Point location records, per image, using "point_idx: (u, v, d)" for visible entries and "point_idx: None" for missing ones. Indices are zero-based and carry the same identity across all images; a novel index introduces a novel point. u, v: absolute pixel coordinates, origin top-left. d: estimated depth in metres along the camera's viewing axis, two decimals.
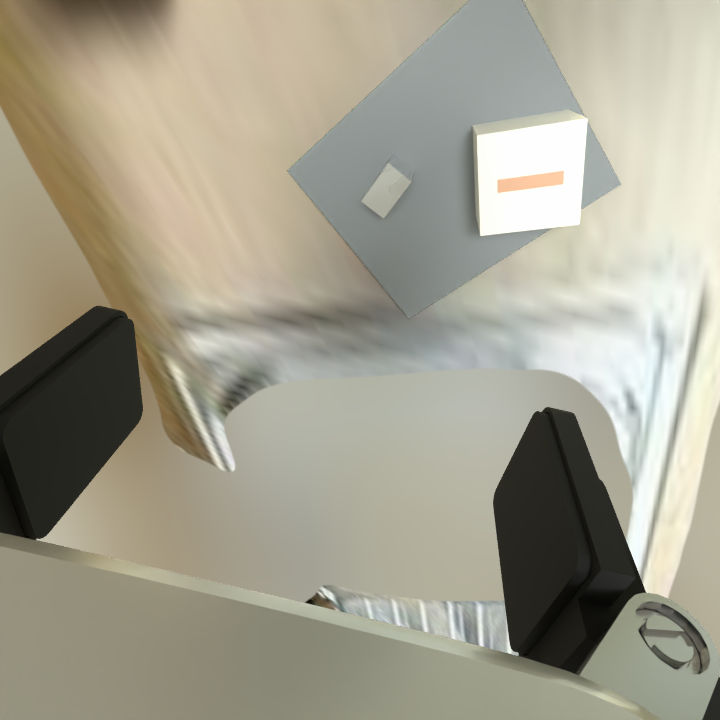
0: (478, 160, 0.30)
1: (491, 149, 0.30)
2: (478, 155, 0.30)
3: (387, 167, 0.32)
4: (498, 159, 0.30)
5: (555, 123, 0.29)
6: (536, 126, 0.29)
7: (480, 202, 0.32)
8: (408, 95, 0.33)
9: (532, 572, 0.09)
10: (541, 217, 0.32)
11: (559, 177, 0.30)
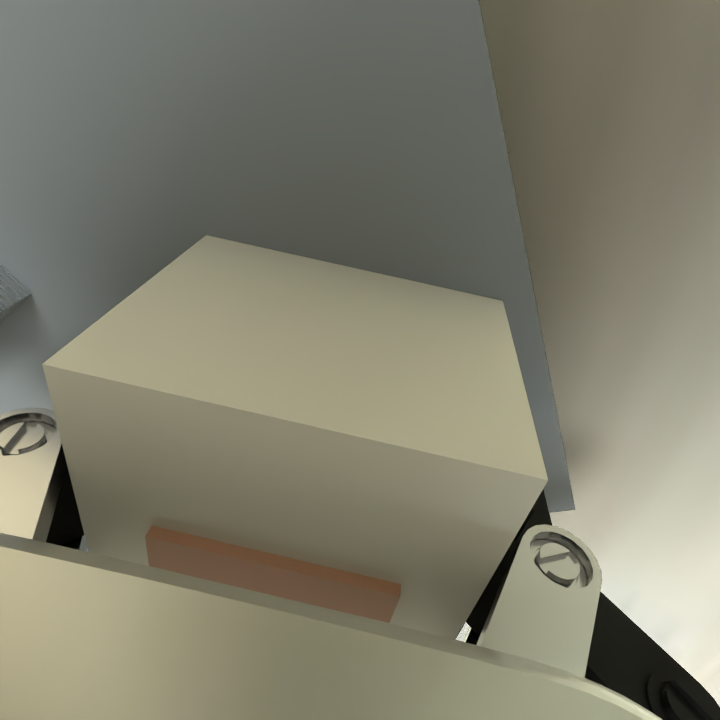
0: (69, 446, 0.07)
1: (117, 434, 0.06)
2: (63, 433, 0.07)
3: None
4: (150, 474, 0.07)
5: (405, 443, 0.06)
6: (319, 424, 0.06)
7: None
8: None
9: None
10: None
11: (379, 604, 0.07)
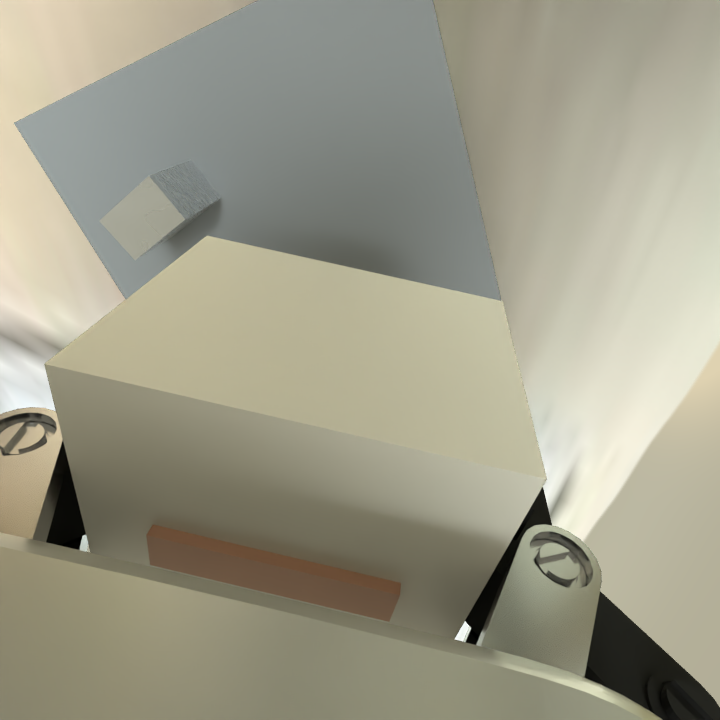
0: (71, 445, 0.07)
1: (118, 433, 0.06)
2: (65, 432, 0.07)
3: (146, 181, 0.18)
4: (151, 473, 0.07)
5: (405, 443, 0.06)
6: (319, 424, 0.06)
7: None
8: (226, 76, 0.20)
9: None
10: None
11: (379, 603, 0.07)
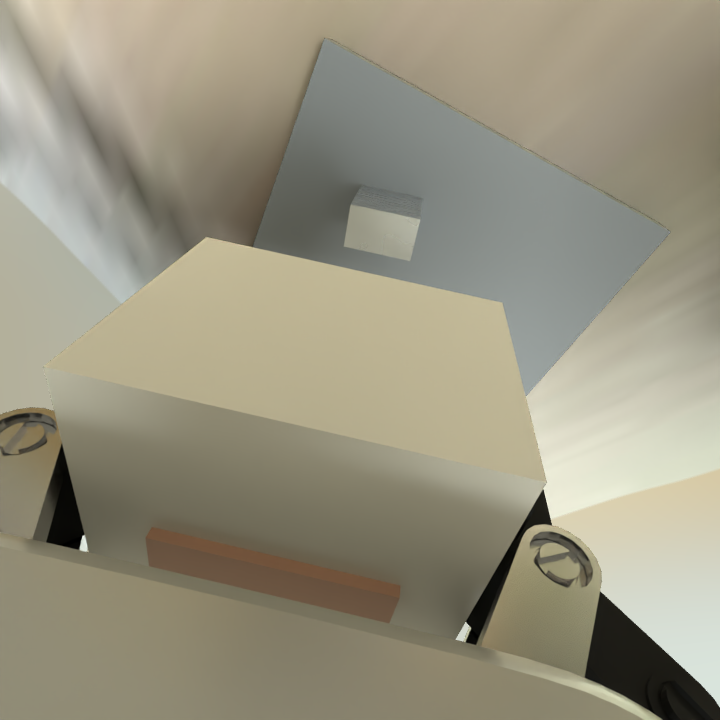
0: (70, 447, 0.07)
1: (117, 436, 0.06)
2: (64, 435, 0.07)
3: (414, 220, 0.21)
4: (150, 475, 0.07)
5: (404, 445, 0.06)
6: (319, 427, 0.06)
7: None
8: (501, 184, 0.24)
9: None
10: None
11: (379, 605, 0.07)
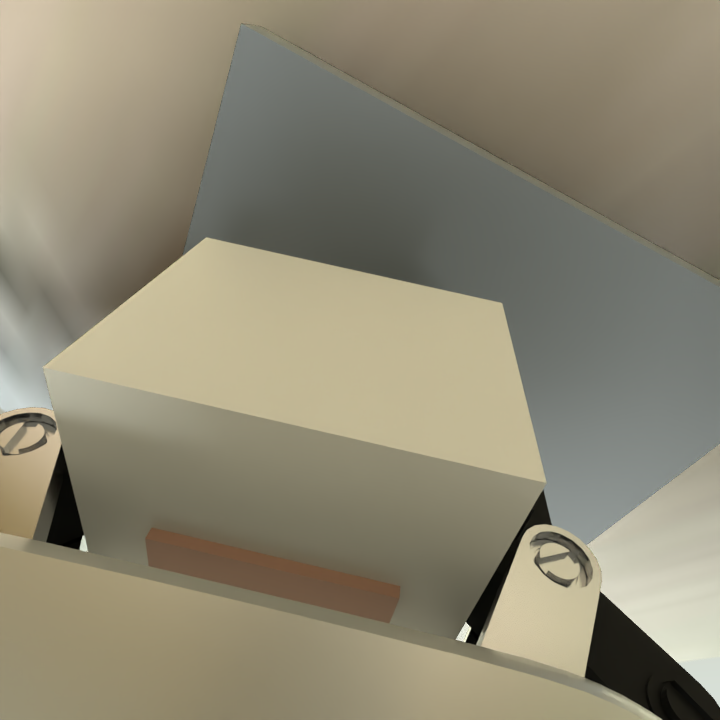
0: (70, 448, 0.07)
1: (117, 436, 0.06)
2: (64, 435, 0.07)
3: None
4: (150, 476, 0.07)
5: (404, 446, 0.06)
6: (318, 427, 0.06)
7: None
8: (552, 272, 0.14)
9: None
10: None
11: (378, 606, 0.07)
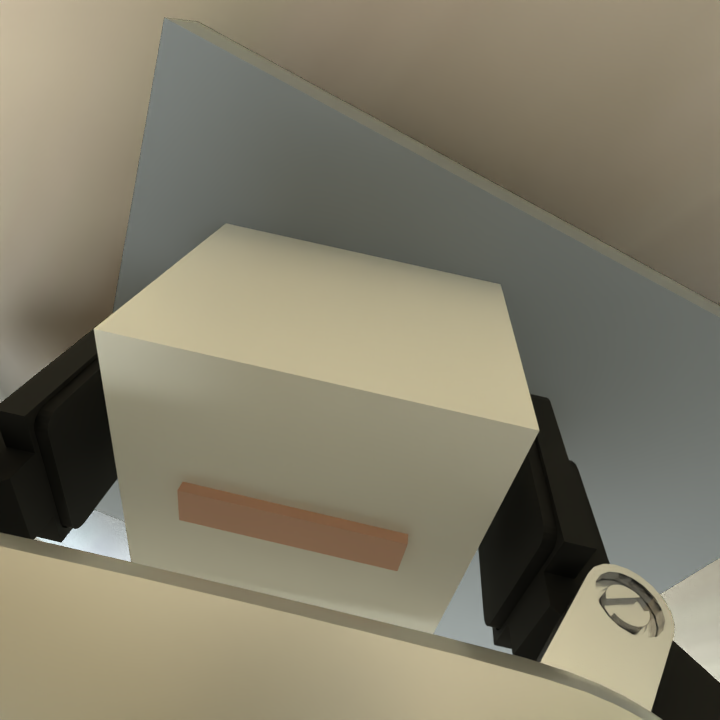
0: (112, 406, 0.08)
1: (156, 393, 0.07)
2: (108, 393, 0.07)
3: None
4: (184, 431, 0.08)
5: (413, 399, 0.07)
6: (338, 382, 0.07)
7: (127, 515, 0.09)
8: (571, 331, 0.11)
9: (505, 549, 0.09)
10: (318, 605, 0.10)
11: (388, 552, 0.08)
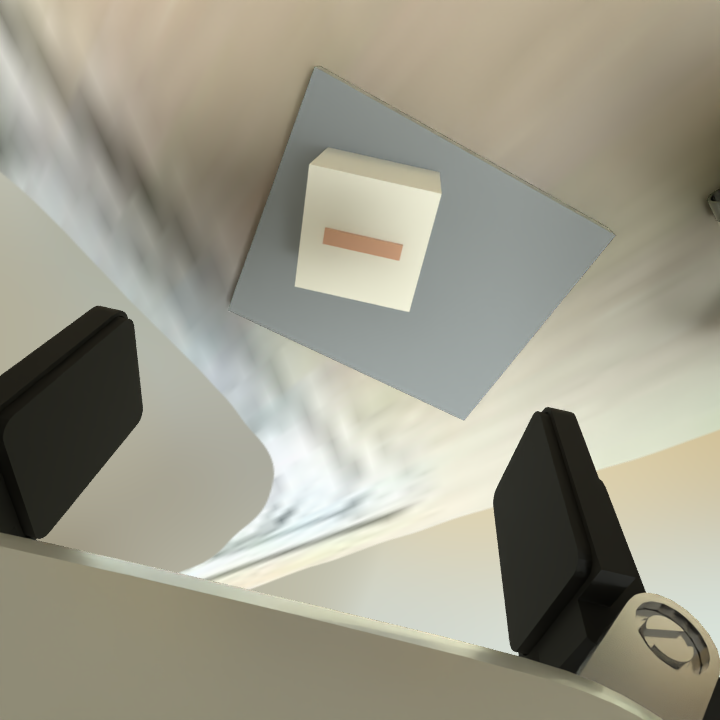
0: (306, 195, 0.23)
1: (324, 188, 0.23)
2: (307, 189, 0.23)
3: None
4: (330, 203, 0.23)
5: (404, 185, 0.23)
6: (382, 180, 0.23)
7: (300, 247, 0.25)
8: (469, 193, 0.27)
9: (532, 572, 0.09)
10: (368, 289, 0.26)
11: (396, 251, 0.24)
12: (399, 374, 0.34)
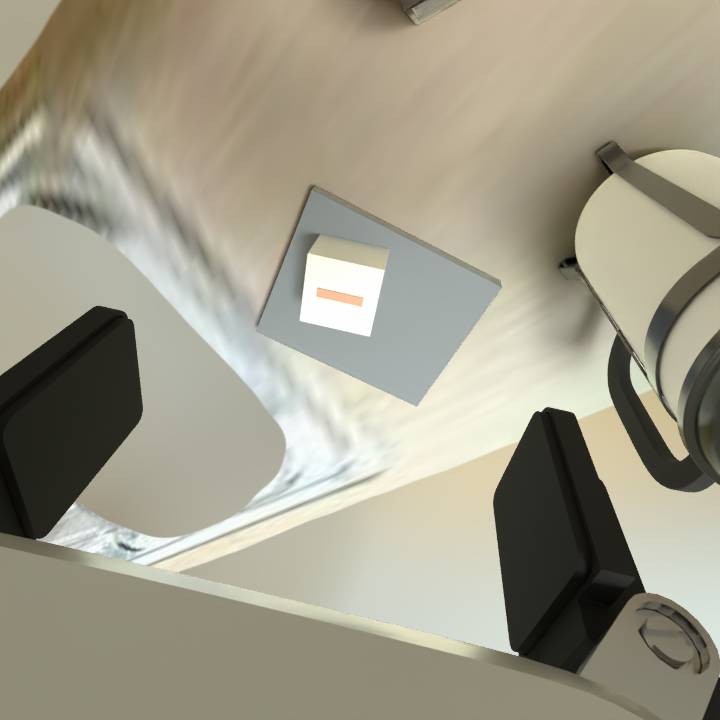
0: (306, 269, 0.40)
1: (316, 266, 0.39)
2: (306, 266, 0.39)
3: None
4: (320, 274, 0.40)
5: (363, 265, 0.39)
6: (350, 262, 0.39)
7: (303, 298, 0.41)
8: (408, 261, 0.43)
9: (532, 572, 0.09)
10: (344, 323, 0.42)
11: (359, 301, 0.40)
12: (371, 374, 0.50)
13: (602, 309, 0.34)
